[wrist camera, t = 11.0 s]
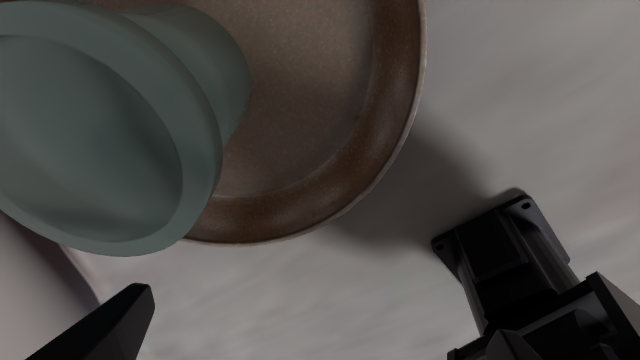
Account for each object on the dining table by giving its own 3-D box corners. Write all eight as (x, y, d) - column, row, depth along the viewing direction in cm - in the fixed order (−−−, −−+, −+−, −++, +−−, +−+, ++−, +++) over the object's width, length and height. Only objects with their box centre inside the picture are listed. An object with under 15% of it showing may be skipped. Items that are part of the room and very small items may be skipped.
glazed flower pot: (299, 99, 15) (261, 188, 9) (190, 178, 18) (107, 285, 12) (173, -63, 12) (2, -84, 6) (67, 60, 15) (-121, 123, 9)
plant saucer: (354, 243, 24) (355, 280, 21) (49, 182, 23) (7, 213, 20) (494, -163, 13) (535, -196, 10) (-89, -315, 12) (-223, -398, 9)
